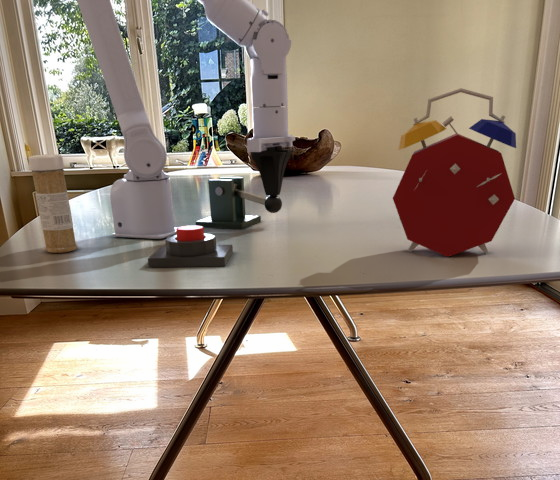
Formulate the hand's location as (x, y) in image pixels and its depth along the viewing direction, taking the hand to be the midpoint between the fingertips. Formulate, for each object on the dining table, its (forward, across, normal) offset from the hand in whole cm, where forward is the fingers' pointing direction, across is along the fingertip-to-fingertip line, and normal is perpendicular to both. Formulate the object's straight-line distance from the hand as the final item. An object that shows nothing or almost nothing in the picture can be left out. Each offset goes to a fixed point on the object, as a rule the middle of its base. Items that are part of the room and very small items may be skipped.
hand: (272, 195), depth 101 cm
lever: (+2, 0, +5) cm, 5 cm away
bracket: (+5, 0, +9) cm, 10 cm away
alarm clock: (+5, -15, -31) cm, 35 cm away
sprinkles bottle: (+5, -27, +23) cm, 36 cm away
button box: (+5, -27, +1) cm, 28 cm away
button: (+3, -27, +1) cm, 27 cm away
